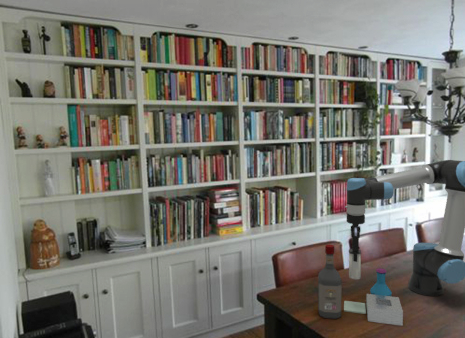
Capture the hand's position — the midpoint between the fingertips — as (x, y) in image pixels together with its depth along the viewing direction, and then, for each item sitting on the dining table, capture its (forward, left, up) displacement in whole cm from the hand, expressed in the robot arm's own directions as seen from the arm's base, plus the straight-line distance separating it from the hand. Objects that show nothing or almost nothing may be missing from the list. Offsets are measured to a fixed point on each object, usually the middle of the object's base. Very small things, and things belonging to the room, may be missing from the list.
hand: (354, 265), depth 155 cm
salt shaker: (0, 0, -5) cm, 5 cm away
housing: (-12, +4, -19) cm, 23 cm away
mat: (0, 0, -19) cm, 19 cm away
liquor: (+10, +8, -20) cm, 24 cm away
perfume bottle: (-12, -10, -20) cm, 25 cm away
